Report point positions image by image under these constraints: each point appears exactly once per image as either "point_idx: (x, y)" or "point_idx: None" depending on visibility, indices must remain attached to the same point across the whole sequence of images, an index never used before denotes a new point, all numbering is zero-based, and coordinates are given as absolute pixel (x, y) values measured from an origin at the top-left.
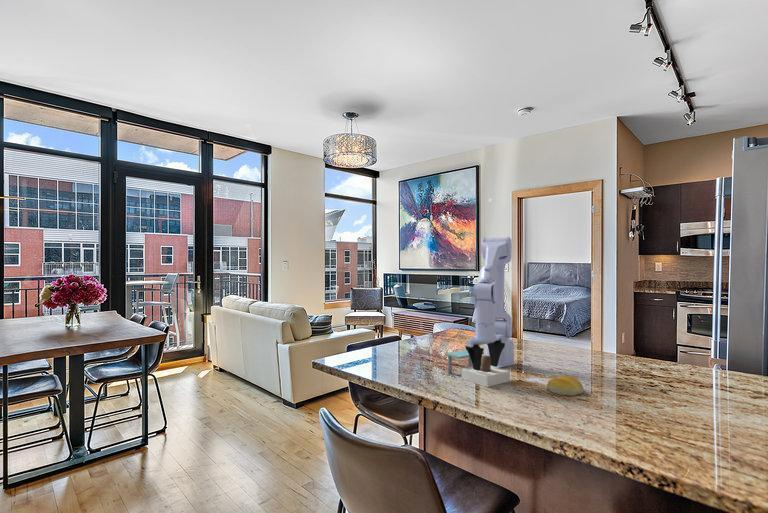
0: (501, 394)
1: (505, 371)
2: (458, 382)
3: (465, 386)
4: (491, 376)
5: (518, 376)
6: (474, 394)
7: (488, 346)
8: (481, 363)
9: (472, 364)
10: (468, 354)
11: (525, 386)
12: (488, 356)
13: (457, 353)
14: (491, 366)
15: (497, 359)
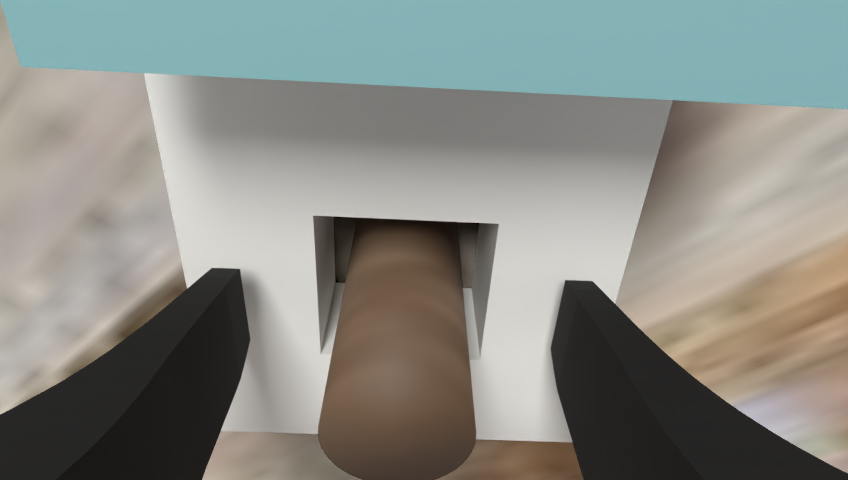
0: (222, 475)
1: (526, 429)
2: (68, 109)
3: (67, 239)
4: (283, 426)
5: (760, 332)
6: (27, 392)
7: (686, 477)
8: (336, 337)
9: (174, 301)
10: (392, 30)
11: (518, 474)
12: (447, 448)
13: None
14: (609, 244)
15: (578, 441)
